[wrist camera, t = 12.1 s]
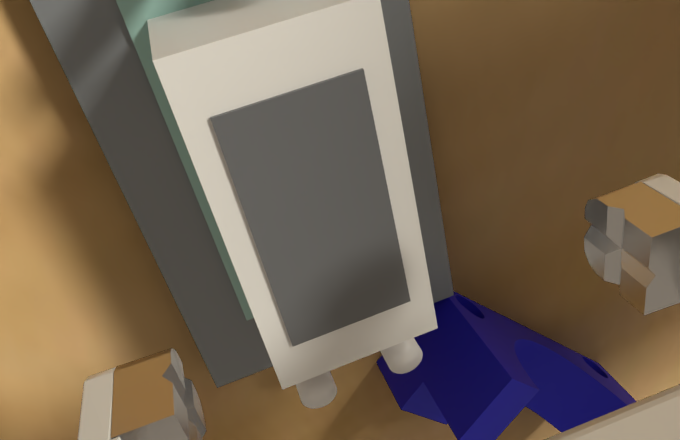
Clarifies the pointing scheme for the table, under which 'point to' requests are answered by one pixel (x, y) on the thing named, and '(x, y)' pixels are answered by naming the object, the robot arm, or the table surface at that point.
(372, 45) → the block
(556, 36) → the table surface
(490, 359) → the cable clip
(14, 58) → the table surface
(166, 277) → the pin tray
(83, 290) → the table surface
